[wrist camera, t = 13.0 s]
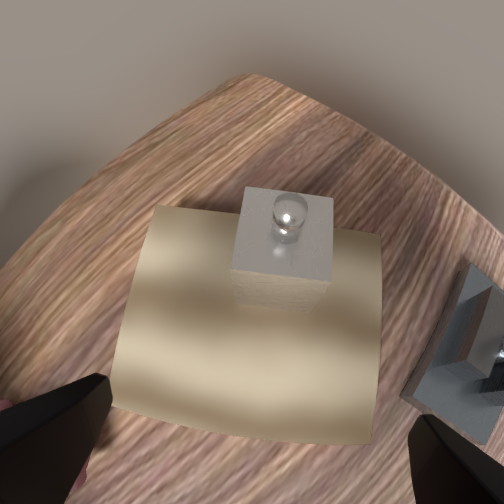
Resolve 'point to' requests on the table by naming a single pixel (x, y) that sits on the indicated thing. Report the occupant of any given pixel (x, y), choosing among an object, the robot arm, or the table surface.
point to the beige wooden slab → (248, 340)
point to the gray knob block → (282, 249)
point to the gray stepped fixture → (464, 360)
